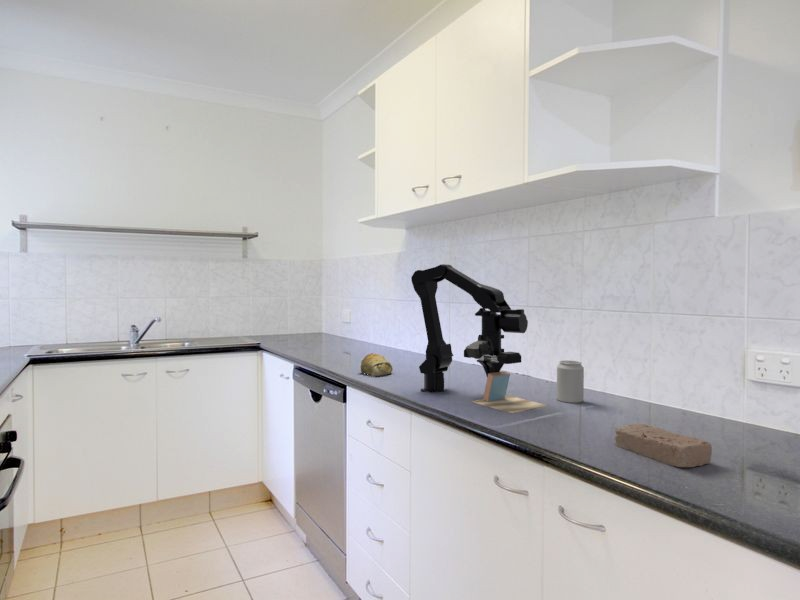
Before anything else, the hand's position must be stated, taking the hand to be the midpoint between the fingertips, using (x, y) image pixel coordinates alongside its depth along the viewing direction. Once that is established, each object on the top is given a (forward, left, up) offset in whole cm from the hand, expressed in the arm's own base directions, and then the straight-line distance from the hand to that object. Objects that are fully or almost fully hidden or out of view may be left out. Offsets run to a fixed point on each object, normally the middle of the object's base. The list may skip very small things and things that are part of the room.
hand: (491, 384), depth 148 cm
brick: (+53, -5, -6) cm, 54 cm away
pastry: (-58, -5, -5) cm, 58 cm away
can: (+14, +18, -5) cm, 23 cm away
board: (+7, 0, -5) cm, 9 cm away
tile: (+1, 0, -4) cm, 4 cm away
